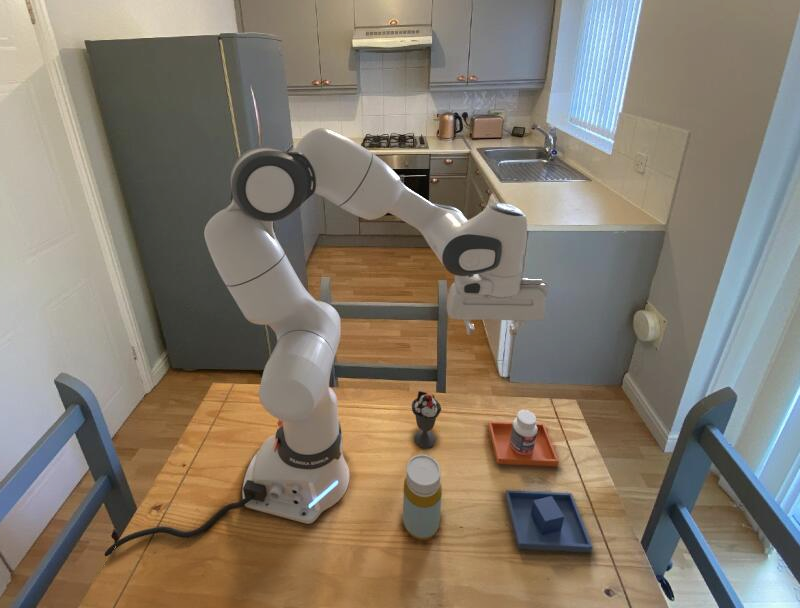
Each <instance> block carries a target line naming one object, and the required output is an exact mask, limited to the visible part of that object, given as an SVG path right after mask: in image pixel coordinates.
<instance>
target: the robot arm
mask: <svg viewBox="0 0 800 608" xmlns="http://www.w3.org/2000/svg"><path fill="white" fill-rule="evenodd" d="M229 177H230V178H229V179H230V181H229V182H230V188H231V194H230V195H231V196H230V200H231V203H230V204H229V205H228V206H226V207H225V208H223V209H221V210H219V211H218V212H216V213H215V214H214V215H213V216H211V218H210V219H209V220H208V221H207V223H206V224H205V227H204V231H203V235H204V240H205V244H206V246H207V249H208V252H209V255H210V257H211V259H212V261H213V264H214V266H215V268H216V270H217V272H218V275H219V276H220V278H221V279H222V282H223V283H224V284H225V287H226V288H227V290H228V291H229V293H230V295H231V296H232V298H233V300H234V302H235V303H236V305H237V306H238V308H239V309H240V312H241V313H242V315H243V316H244V318H245V320H247V322H250V323H251V324H254V325H260V326H269V327H270V328H271V330H272V331H273V332H274V333H275V336H276V344H275V346H274V347H273V350H272V352H271V354H270V355H269V358H268V359H267V362H266V363H265V366H264V369H263V372H262V376H261V380H260V384H259V388H258V398H259V402H260V404H261V406H262V408H263V409H264V410H265V411H266V412H267V413H268V414H269V415H270V416H272V417H273V418H275V419H277V420H278V421H277V426H278V427H279V428H278V429H276V432H275V434H272V435H271V436H269V437H267V438H266V439H265V440H264V441H263V443H262V444H261V446H260V448H259V449H258V450H257V452H256V453H255V454H254V455H253V457H252V459H251V461H250V462H249V465H248V468H247V469H246V473H245V475H244V479H243V484H242V492H241V493H242V494H241V495H242V499H241V500H240V501H237V502H231V503H229V504H227V505H225V506H224V507H222V508H220V509H219V510H218V511H217V512H216V513H215V514H214V515H212V517H211V518H209V520H207V521H206V522H205V523H204V524H203V525H201V526H200V527H198V528H196V529H193V530H189V531H183V530H181V529H180V530H179V529H176V528H173V527H170V526H157V527H156V526H155V527H151V528H147V529H142V530H139V531H135V532H133V533H130V534H128V535H126V536H123V537H122V538H120V539H119V540H117V541H115V542H114V543H113V544H112V545H110V546H109V547H108V548H107V550H106V551H104V554H103V555H104V557H109V556H110V555H111V554H113V552H114V551H115V550H116V549H117V548H119V547H121V546H123V545H124V544H126V543H128V542H130V541H132V540H135V539H138V538H141V537H146V536H150V535H154V534H168V535H171V536H174V537H177V538H181V539H189V538H193V537H196V536H198V535H200V534H202V533H203V532H206V530H208V529H209V528H210V527H211V526H212V525H213V524H214V523H215V522H216V521H217V520H218V519H219V518H220V517H222V516H223V515H224V514H226V513H227V512H229V511H231V510H234V509H240V508H241V507H243V506H244V507H245V508H247V509H251V510H255V511H258V512H261V513H265V514H269V515H272V516H276V517H280V518H284V519H287V520H291V521H295V522H299V523H302V524H306V525H310V524H313V523H314V522H315V521H316V520H317V519H318V518H319V516H320V515H321V514H322V513H323V512H324V511H326V510H328V509H330V508H331V507H333V506H334V505H335V504H337V503H338V502H339V501H340V500H341V499H342V498H343V496H344V495H345V493H346V491H347V489H348V487H349V483H350V479H351V478H350V477H351V475H350V468H349V465H348V464H347V462H346V460H345V457H344V454H343V447H344V445H343V443H344V442H343V432H342V426H341V422H340V420H339V405H338V396H337V395H336V393H335V391H334V389H332V388H331V387H330V379H331V374H332V369H333V365H334V361H335V358H336V354H337V352H338V351H337V350H338V348H339V344H340V341H341V330H342V326H341V325H342V324H341V323H342V322H341V321H342V320H341V317H340V314H339V312H338V311H337V310H336V309H335V307H333V305H331V304H329V303H327V302H325V301H321V300H316V299H315V298H314V297H313V296H312V295H311V293H310V292H308V290H307V289H306V288H305V286H304V285H303V283H302V281H301V280H300V278H299V277H298V275H297V273H296V271H295V269H294V267H293V266H292V264H291V262H290V260H289V258H288V257H287V255H286V253H285V251H284V248H283V247H282V245H281V243H280V242H279V240H278V238H277V236H276V233H275V231H274V222H277V221H280V220H283V219H285V218H287V217H288V216H290V215H292V214H293V213H294V212H296V210H297V209H298V208H299V207H300V206H301V205H302V204H303V203H305V202H306V201H307V200H308V199H309V198H310V197H312V196H313V195H314V194H316V195H317V196H320V197H322V198H324V199H326V200H327V201H329V202H330V203H332V204H334V205H335V206H338V207H339V208H341V209H342V210H343V211H346V212H347V213H349V214H352V215H353V216H356V217H359V218H362V219H364V220H368V221H373V220H377V219H380V218H382V217H384V216H385V215H387V214H390V215H393V216H394V217H396V218H398V219H399V220H401V221H403V222H404V223H406V224H408V225H409V226H412V227H413V228H415V229H416V230H417V231H418V232H419V234H420V235H421V237H422V239H423V241H424V242H425V243H426V244H427V246H429V248H430V249H431V251H432V252H433V253H434V254H435V256H436V257H437V259H438V260H439V262H440V263H441V264H442V266H443V267H444V268H445V269H446V270H447V272H449V273H450V274H452V275H454V282H452V284H450V287H449V290H448V294H447V299H446V311H447V312H446V314H447V316H448V317H449V318H450V319H451V320H462V321H463V322H462V323H463V324H464V326H465V327H466V335H470V336H474V335H475V331H476V328H475V325H474V323H471V320H472V321H473V320H477V321H480V320H481V321H515V322H514V323H513V324H510V325H509V334H510V336H513V337H515V336H517V337H518V336H519V333H520V331H521V329H522V328H523V327H524V326H525V325H526V322H527V321H530V322H531V321H533V322H534V321H536V322H540V321H541V320H543V319H544V318H545V315H546V297H547V296H548V292H549V285H548V283H547V282H546V281H543V280H542V279H541V278H535V279H533V278H532V279H531V278H530V279H529V278H522V277H523V271H524V268H523V267H524V266H523V257H524V255H525V252H526V247H527V241H528V218H527V216H526V214H525V213H524V212H523V211H522V210H520V208H517V207H516V206H515V205H511V204H509V203H503V202H491V203H488V204H487V205H486V207H485V208H484V209H483V210H482V211H481V212H479V213H478V214H477V215H475V216H474V217H472V218H469V219H468V218H467V217H466V216H465V215H464V214H463V213H462V211H460V209H458V208H457V207H454V206H450V205H446V204H439V203H435V202H431V201H430V200H427V199H426V198H424V197H423V196H422V195H420V194H419V193H417V192H416V191H414V190H412V189H411V188H409V187H408V186H407V185H405V184H404V182H402V180H401V178H400V176H399V175H398V174H397V173H396V172H395V170H393V169H392V168H391V166H389V165H388V164H387V163H386V162H385V161H384V160H382V159H381V158H380V157H378V156H377V155H376V154H374V153H373V152H372V151H370V150H368V149H367V148H365V147H364V146H363V145H360V144H359V143H357V142H356V141H353V140H351V139H350V138H348V137H346V136H344V135H341V134H340V133H337V132H335V131H333V130H330V129H327V128H315V129H312V130H310V131H309V132H308V133H306V134H304V136H302V138H301V139H300V140H299V142H298V143H297V145H296V147H294V148H293V149H292V150H290V151H285V150H280V149H277V148H274V147H271V146H256V147H253V148H250V149H248V150H246V151H244V152H243V153H242V154H241V155H239V157H238V158H237V159H236V161H235V162H234V164H233V166H232V169H231V172H230V176H229ZM115 546H116V548H115ZM114 548H115V549H114ZM113 550H114V551H113ZM112 551H113V552H112Z"/></svg>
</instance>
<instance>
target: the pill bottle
mask: <svg viewBox="0 0 800 608" xmlns="http://www.w3.org/2000/svg"><path fill="white" fill-rule="evenodd" d="M536 423H537V417H536V415H535V414H534V413H533V412H531V411H530V410H527V409H522V410H519V411H518V412H517V414H516V417H515V418H514V420H513V425H512V430H511V436H510V445H511V447H512V449H513V450H514V451H515V452H517V453H519V454H522V455H529V454H531V453H532V452H533V450H534V445H535V440H536V435H537V426H536Z"/></svg>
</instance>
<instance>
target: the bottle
mask: <svg viewBox="0 0 800 608" xmlns="http://www.w3.org/2000/svg"><path fill="white" fill-rule="evenodd" d="M405 473H406V475H405V479H404V481H403V495H402V496H403V498H402V500H403V501H402V502H403V503H402V521H403V522H402V523H403V527H404V529H405V530H406V532H407V533H408V535H410V536H411V537H413V538H414V539H417V540H420V541H425V540H429V539H431V538H433V537H434V536H435V535H436V534H437V533H438V530H439V527H440V520H441V508H442V507H441V506H442V496H443V495H442V493H443V489H442V488H443V487H442V483H441V477H442V475H441V474H442V472H441V467H440V464H439V463H438V461H437V460H436V459H435V458H434V457H432V456H431V455H429V454H421V453H420V454H416V455H414V456H412V457H411V458H410V459H409V460H408V461H407V464H406V472H405Z"/></svg>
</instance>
